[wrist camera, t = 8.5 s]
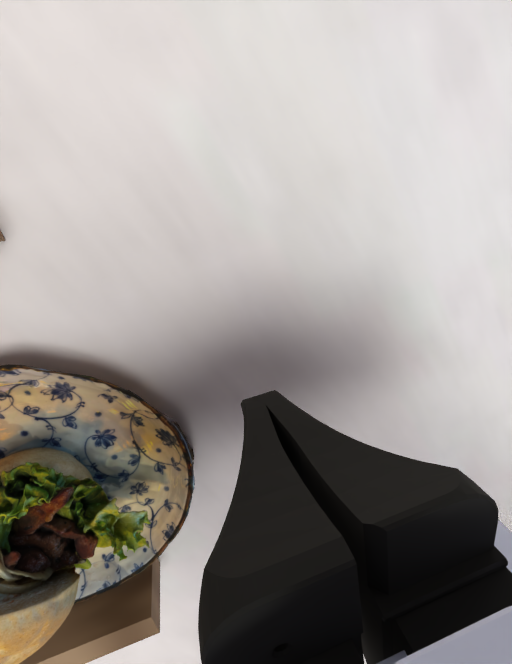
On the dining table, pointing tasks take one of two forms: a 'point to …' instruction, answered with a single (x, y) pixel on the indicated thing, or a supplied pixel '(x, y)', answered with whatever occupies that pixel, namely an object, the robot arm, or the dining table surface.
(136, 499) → the burger
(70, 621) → the open wooden frame
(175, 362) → the dining table surface
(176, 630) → the dining table surface
